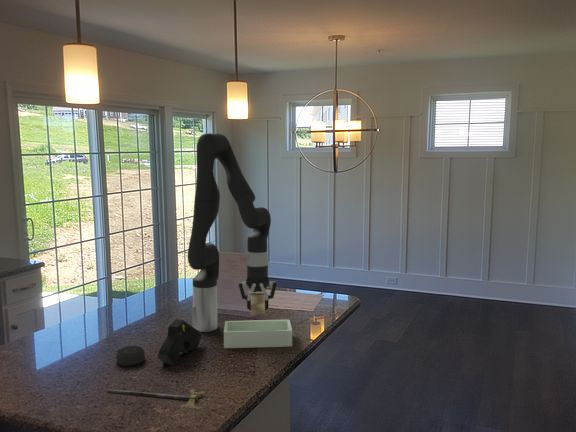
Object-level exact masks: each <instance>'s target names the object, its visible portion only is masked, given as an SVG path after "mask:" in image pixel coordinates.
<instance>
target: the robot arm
mask: <svg viewBox="0 0 576 432" xmlns="http://www.w3.org/2000/svg"><path fill="white" fill-rule="evenodd" d="M215 159H217V160H218V161H219V162H220V164H221V166H222V167H223V169H224V171H225V175H226V183H227V184H226V185H227V189H228V191H229V193H230V194H231V197H232V198H233V199H234V201H235V203H236V204H237V207H238V211H239V214H240V219H241V220H242V222H243V224H244V225H245V226H246V227H247V228H249V229H251V230H252V233H251V234H249V235H248V236H247V243H246V245H247V252H246V280H245V281H239V282H238V288H239V291H240V295H241V298H242V300H245V301H246V308H247V310H248V311H250V312H251V295H252V294H253V292H263V294H265V311H267V310H268V309H269V301H270V299H273V298H274V296H275V292H276V288H277V281H276V280H270V279H269V256H268V255H269V254H268V237H269V234H270V228H271V222H272V218H271V214H270V212H269V210H268V208H265V207H255V205H254V202H255V201H256V195H255V193H254V192H253V190H252V189H251V186H250V184H249V183H248V182H247V179H246V178H245V176H244V175H243V174H244V173H243V172H242V170H241V167H240V165H239V163H238V160H237V157H236V156H235V153H234V150H233V148H232V145H231V143H230V141H229V140H228V138H227V136H226V135H224V134H221V133H210V132H206V133H202V134H201V135H200V136H199V138H198V139H197V143H196V181H195V194H194V201H193V203H194V205H193V217H192V218H193V219H192V227H191V228H192V229H191V233H190V239H189V243H188V244H189V245H188V250H187V262H188V265H189V267H190V268H191V269H192V270H195V271H199V272H198V273H197V274H196V275H195V276H194V277H193V278H192V309H191V310H192V327H194V328H195V329H197V330H198V331H199V332H201V333H207V332H208V333H209V332H213V331H216V330H217V329H218V279H219V275H220V252H219V249H218V247H217V246H216V245H215V243H212V242H211V243H210V242H207V239H208V238H207V237H208V234H209V232H210V230H211V228H212V226H213V225H214V222H215V221H216V219H217V216H218V215H219V210H220V200H221V199H220V198H221V195H220V194H221V192H220V190H219V186H218V184H217V181H216V179H215V175H214V170H215V169H214V167H215ZM246 286H247V287H248V288H249V291H248V294H246V293H245V289H244V288H245V287H246ZM268 286H269V287H270V288H271V289H270V293H269V294H268V292H267V289H266V288H267V287H268Z"/></svg>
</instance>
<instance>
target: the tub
mask: <svg viewBox="0 0 576 432" xmlns="http://www.w3.org/2000/svg"><path fill="white" fill-rule="evenodd" d="M289 346H290V347H293V328H292V325H291V321H290V319H262V320H261V319H257V320H256V319H255V320H252V319H251V320H225V321H224V327H223V349H245V348H247V349H249V348H250V349H251V348H282V347H283V348H284V347H289Z"/></svg>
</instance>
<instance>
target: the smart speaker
mask: <svg viewBox="0 0 576 432" xmlns="http://www.w3.org/2000/svg"><path fill="white" fill-rule="evenodd" d="M145 354H146V351H145V349H144V348H143V347H141V346H138V345H128V346H124V347H121V348H120V349H118V350H117V351H116V353H115V357H116V358H115V359H116V363H117V364H118V365H120V366H122V367H132V366H137V365H139V364H141V363H143V362H144V361H145V357H146V356H145Z"/></svg>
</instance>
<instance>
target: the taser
mask: <svg viewBox="0 0 576 432" xmlns="http://www.w3.org/2000/svg"><path fill="white" fill-rule="evenodd" d="M167 327H168V329H167V336H166V338H165V340H164V341H163V342H162V344H161V347H160V348H159V351H158V359H159V360H160V362H161V363H163V364H164V365H168V366H173V365H174V364H176V362H177V360H178V358H179V356H180V353H182V354H183V353H184V354H188V353H189V352H190V351H191V352H194V351H195V350H196V348H199V347H200V342H201V340H202V337H203V334H202V333H203V332H199V331H198V330H197V329H195V328H194V327H193V325H190V324H189V323H188V322H186V321H185V320H183V319H181V318H180V319H179V318H178V319H175V320H174V321H172V323H170V324H169V325H168V326H167Z"/></svg>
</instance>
